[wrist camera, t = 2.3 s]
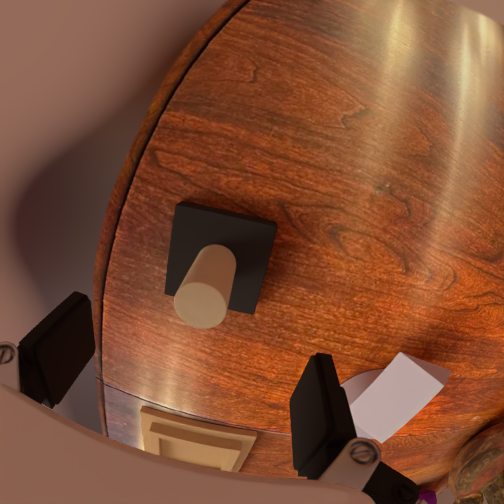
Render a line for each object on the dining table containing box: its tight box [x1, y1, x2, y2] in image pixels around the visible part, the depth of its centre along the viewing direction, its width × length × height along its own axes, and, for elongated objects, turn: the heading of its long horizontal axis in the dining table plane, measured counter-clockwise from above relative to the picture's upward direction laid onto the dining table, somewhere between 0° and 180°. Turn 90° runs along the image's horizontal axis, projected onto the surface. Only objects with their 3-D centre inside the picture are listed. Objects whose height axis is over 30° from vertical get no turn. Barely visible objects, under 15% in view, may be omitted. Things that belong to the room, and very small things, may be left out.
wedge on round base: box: [340, 352, 452, 443], centre depth 22 cm, size 9×7×13 cm
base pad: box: [140, 406, 257, 473], centre depth 29 cm, size 14×14×2 cm
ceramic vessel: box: [448, 422, 504, 504], centre depth 23 cm, size 17×26×25 cm, turn 161°
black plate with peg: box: [165, 201, 277, 329], centre depth 17 cm, size 7×7×8 cm
